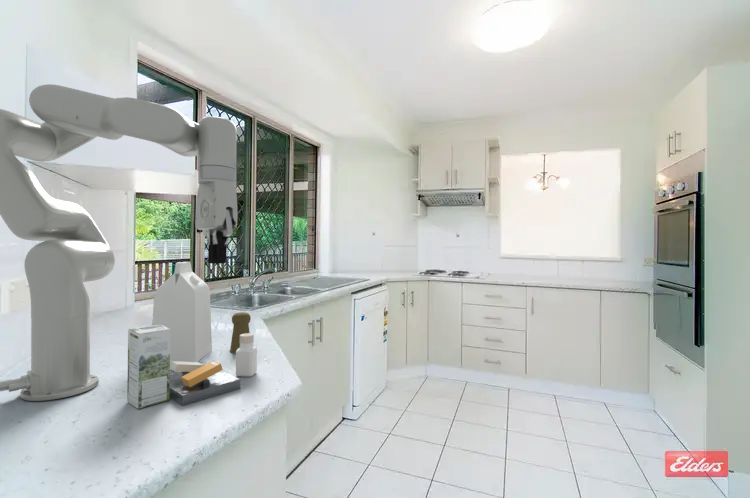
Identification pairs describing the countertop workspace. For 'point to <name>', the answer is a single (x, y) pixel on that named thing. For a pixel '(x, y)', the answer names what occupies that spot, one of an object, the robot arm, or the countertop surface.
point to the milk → (185, 314)
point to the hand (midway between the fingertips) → (217, 263)
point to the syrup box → (148, 365)
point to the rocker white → (185, 366)
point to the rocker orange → (201, 373)
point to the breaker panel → (201, 387)
